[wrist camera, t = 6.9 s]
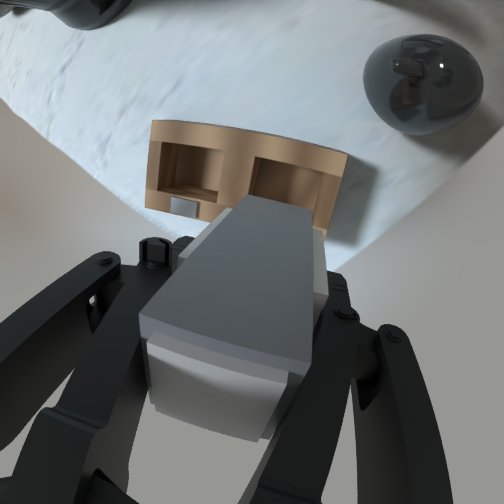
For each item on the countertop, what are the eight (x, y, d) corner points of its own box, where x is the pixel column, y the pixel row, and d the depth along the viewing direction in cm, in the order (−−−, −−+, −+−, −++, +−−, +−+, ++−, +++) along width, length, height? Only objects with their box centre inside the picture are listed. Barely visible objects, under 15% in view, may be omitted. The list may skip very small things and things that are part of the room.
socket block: (164, 198, 35) (143, 210, 30) (172, 119, 30) (150, 120, 25) (319, 234, 33) (320, 253, 28) (341, 151, 28) (348, 155, 24)
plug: (236, 252, 18) (145, 411, 7) (247, 194, 17) (130, 323, 6) (295, 267, 18) (267, 449, 7) (312, 209, 16) (310, 377, 5)
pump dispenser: (346, 50, 23) (375, -7, 10) (428, 53, 21) (498, 19, 7) (362, 135, 27) (410, 142, 14) (442, 134, 25) (524, 149, 11)
